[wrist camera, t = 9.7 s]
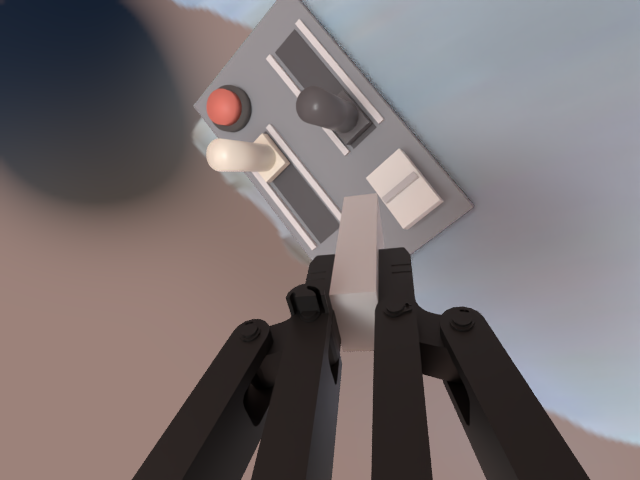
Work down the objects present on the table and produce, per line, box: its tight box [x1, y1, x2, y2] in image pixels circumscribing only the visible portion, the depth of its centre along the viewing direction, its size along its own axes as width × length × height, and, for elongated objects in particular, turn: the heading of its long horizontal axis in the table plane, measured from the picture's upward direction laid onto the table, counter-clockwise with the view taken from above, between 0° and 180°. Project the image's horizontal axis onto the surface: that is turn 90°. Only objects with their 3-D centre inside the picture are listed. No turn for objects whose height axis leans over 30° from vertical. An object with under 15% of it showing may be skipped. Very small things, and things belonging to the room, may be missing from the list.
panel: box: [194, 0, 474, 261], centre depth 41 cm, size 28×16×5 cm, turn 41°
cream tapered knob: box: [206, 133, 290, 182], centre depth 39 cm, size 4×3×9 cm
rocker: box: [366, 149, 444, 229], centre depth 36 cm, size 6×4×2 cm, turn 42°
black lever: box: [296, 86, 372, 145], centre depth 35 cm, size 4×3×9 cm
